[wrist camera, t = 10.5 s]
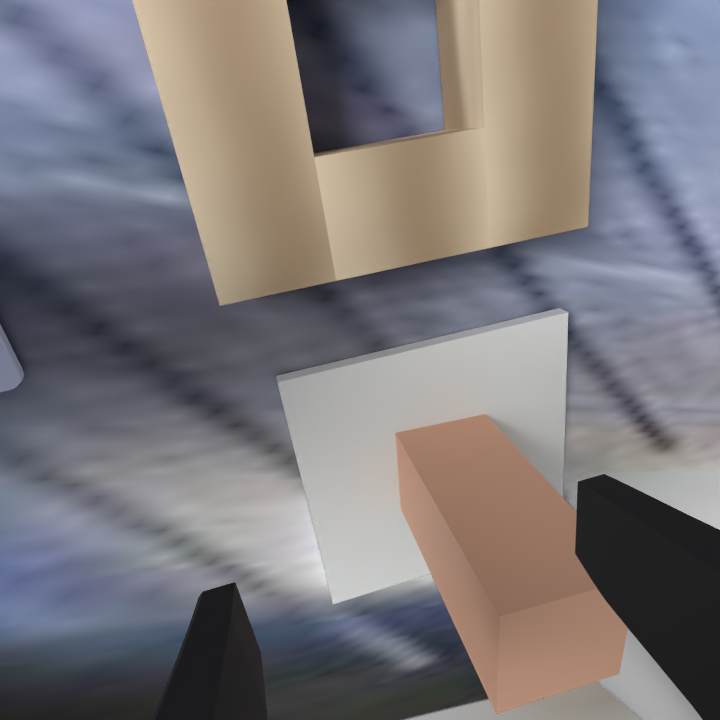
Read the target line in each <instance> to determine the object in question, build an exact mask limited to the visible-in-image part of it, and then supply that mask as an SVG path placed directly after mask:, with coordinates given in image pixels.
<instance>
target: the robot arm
mask: <svg viewBox="0 0 720 720" xmlns="http://www.w3.org/2000/svg"><path fill="white" fill-rule="evenodd" d="M23 377H24V372H23V369H22V367H21V365H20V363H19V361H18V359H17V357H16V355H15V353H14V351H13V349H12V347H11V345H10V343H9V341H8V339H7V337H6V334H5V332H4V330H3V328H2V326H1V324H0V392H4V391H9V390H12V389H14V388H16V387H17V386H18V385H19V384H20V383H21V381H22V380H23ZM575 554H576V556H577V558H578V559H579V561H580V562H581V564H582V566H583V567H584V569H585V570H586V572H587V573H588V575H589V577H590V578H591V580H592V581H593V583H594V584H595V586H596V587H597V589H598V590H599V592H600V593H601V595H602V596H603V598H604V599H605V600H606V602H607V603H608V604H609V605H610V607H611V608H612V609H613V610H614V612H615V613H616V614H617V615H618V617H619V618H620V619H621V620H622V621H623V623H624V624H625V625H626V626H627V628H628V629H629V630H630V631H631V633H632V634H633V635H634V636H635V637H636V639H637V640H638V641H639V642H640V643H641V645H642V646H643V647H644V648H645V650H646V651H647V652H648V653H649V654H650V656H651V657H652V658H653V659H654V660H655V662H656V663H657V664H658V665H659V666H660V668H661V669H662V670H663V671H664V672H665V674H666V675H667V676H668V677H669V679H670V680H671V681H672V682H673V683H674V685H675V686H676V687H677V688H678V689H679V691H680V692H681V693H682V694H683V695H684V697H685V698H686V699H687V700H688V702H689V703H690V704H691V705H692V706H693V708H694V709H695V710H696V712H697V713H698V714H699V716H700V717H701V718H702V719H703V720H720V530H719V529H716V528H714V527H712V526H710V525H708V524H706V523H704V522H702V521H700V520H698V519H696V518H693V517H691V516H689V515H687V514H685V513H683V512H681V511H679V510H677V509H675V508H673V507H671V506H669V505H667V504H665V503H663V502H661V501H659V500H657V499H655V498H653V497H651V496H649V495H647V494H645V493H643V492H641V491H639V490H637V489H634V488H632V487H630V486H628V485H626V484H624V483H622V482H620V481H618V480H616V479H614V478H611V477H609V476H607V475H605V474H603V475H599V476H596V477H593V478H589V479H586V480H582V481H579V482H578V493H577V517H576V541H575ZM152 720H267V710H266V699H265V689H264V679H263V669H262V660H261V652H260V649H259V646H258V644H257V641H256V638H255V635H254V633H253V630H252V627H251V624H250V622H249V619H248V616H247V613H246V610H245V608H244V605H243V602H242V599H241V597H240V594H239V591H238V588H237V586H236V583H235V582H234V583H231V584H227V585H224V586H220V587H217V588H214V589H210V590H207V591H203V592H202V594H201V595H200V597H199V598H198V601H197V604H196V607H195V610H194V613H193V616H192V619H191V622H190V625H189V628H188V630H187V633H186V636H185V639H184V641H183V644H182V647H181V649H180V652H179V655H178V657H177V660H176V662H175V665H174V668H173V670H172V673H171V675H170V677H169V680H168V682H167V685H166V687H165V690H164V692H163V694H162V697H161V699H160V702H159V704H158V706H157V709H156V711H155V714H154V716H153V718H152Z"/></svg>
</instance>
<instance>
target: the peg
mask: <svg viewBox="0 0 720 720" xmlns="http://www.w3.org/2000/svg"><path fill="white" fill-rule="evenodd" d="M395 435H396V449H397V463H398V477H399V491H400V505H401V510H402V512H403V514H404V517H405V519H406V521H407V523H408V525H409V527H410V530H411V532H412V534H413V536H414V538H415V540H416V542H417V545H418V547H419V549H420V551H421V553H422V555H423V558H424V560H425V562H426V564H427V566H428V568H429V570H430V573H431V575H432V577H433V579H434V581H435V583H436V586H437V588H438V590H439V592H440V594H441V596H442V598H443V601H444V603H445V605H446V607H447V609H448V611H449V614H450V616H451V618H452V620H453V622H454V624H455V626H456V629H457V631H458V633H459V635H460V637H461V639H462V642H463V644H464V646H465V648H466V650H467V652H468V655H469V657H470V659H471V661H472V663H473V665H474V667H475V670H476V672H477V674H478V676H479V678H480V680H481V683H482V685H483V687H484V689H485V691H486V693H487V695H488V698H489V700H490V702H491V704H492V706H493V708H494V710H495V712H496V714H497V713H500V712H503V711H506V710H509V709H513V708H516V707H519V706H522V705H525V704H528V703H531V702H534V701H537V700H540V699H544V698H547V697H550V696H553V695H556V694H559V693H562V692H565V691H568V690H572V689H575V688H578V687H581V686H584V685H587V684H590V683H593V682H596V681H599V680H602V679H606V678H609V677H612V676H615V675H618V674H619V673H620V668H621V662H622V657H623V652H624V647H625V642H626V637H627V631H628V628H627V626H626V625H625V624H624V623H623V621H622V620H621V619H620V618H619V617H618V615H617V614H616V613H615V612H614V610H613V609H612V608H611V607H610V605H609V604H608V603H607V602H606V600H605V599H604V598H603V596H602V595H601V593H600V592H599V590H598V589H597V587H596V586H595V584H594V583H593V581H592V580H591V578H590V577H589V575H588V573H587V572H586V570H585V569H584V567H583V566H582V564H581V562H580V561H579V559H578V558H577V556H576V554H575V541H576V517H577V512H576V510H575V509H574V508H573V507H572V506H571V505H570V504H569V503H568V502H567V501H566V500H565V499H564V498H563V497H562V496H561V495H560V493H559V492H558V491H557V490H556V489H555V488H554V487H553V486H552V485H551V484H550V483H549V482H548V481H547V480H546V479H545V477H544V476H543V475H542V474H541V473H540V472H539V471H538V470H537V469H536V468H535V467H534V466H533V465H532V464H531V463H530V461H529V460H528V459H527V458H526V457H525V456H524V455H523V454H522V453H521V452H520V451H519V450H518V449H517V448H516V447H515V446H514V444H513V443H512V442H511V441H510V440H509V439H508V438H507V437H506V436H505V435H504V434H503V433H502V432H501V431H500V430H499V428H498V427H497V426H496V425H495V424H494V423H493V422H492V421H491V420H490V419H489V418H488V417H487V416H486V415H485V414H483V415H478V416H473V417H469V418H464V419H459V420H454V421H449V422H445V423H440V424H435V425H430V426H426V427H421V428H416V429H411V430H406V431H402V432H397V433H395Z"/></svg>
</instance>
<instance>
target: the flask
mask: <svg viewBox="0 0 720 720" xmlns="http://www.w3.org/2000/svg"><path fill="white" fill-rule="evenodd" d="M596 682H597V683H598V684H599V685H600V686H602V687H603V688H604V689H605V690H606V691H607V692H609V693H610V694H611V695H612V696H613V697H615V698H616V699H617V700H618V701H619V702H621V703H622V704H623V705H624V706H625V707H626V708H628V709H629V710H630V711H631V712H632V713H634V714H635V715H636V716H637V717H638V718H639V719H641V720H703V719H702V718H701V717H700V716H699V714H698V713H697V712H696V710H695V709H694V708H693V706H692V705H691V704H690V703H689V702H688V700H687V699H686V698H685V697H684V695H683V694H682V693H681V692H680V691H679V689H678V688H677V687H676V686H675V685H674V683H673V682H672V681H671V680H670V679H669V677H668V676H667V675H666V674H665V672H664V671H663V670H662V669H661V668H660V666H659V665H658V664H657V663H656V662H655V660H654V659H653V658H652V657H651V656H650V654H649V653H648V652H647V651H646V650H645V648H644V647H643V646H642V645H641V643H640V642H639V641H638V640H637V639H636V637H635V636H634V635H633V634H632V633H631V631H630V630H629V629H628V631H627V637H626V642H625V647H624V652H623V657H622V662H621V668H620V673H619V674H618V675H615V676H612V677H609V678H606V679H602V680H599V681H596Z"/></svg>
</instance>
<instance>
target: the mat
mask: <svg viewBox="0 0 720 720" xmlns="http://www.w3.org/2000/svg"><path fill="white" fill-rule="evenodd" d="M567 340H568V312H567V311H565V310H563V309H561V308H558V309H553V310H549V311H545V312H541V313H537V314H533V315H528V316H524V317H520V318H516V319H512V320H508V321H503V322H499V323H495V324H491V325H487V326H482V327H478V328H474V329H470V330H466V331H462V332H457V333H453V334H449V335H445V336H441V337H436V338H432V339H428V340H424V341H420V342H416V343H411V344H407V345H403V346H399V347H395V348H390V349H386V350H382V351H378V352H374V353H370V354H365V355H361V356H357V357H353V358H349V359H344V360H340V361H336V362H332V363H328V364H324V365H319V366H315V367H311V368H307V369H303V370H298V371H294V372H290V373H286V374H282V375H278V376H276V379H277V384H278V388H279V392H280V396H281V400H282V404H283V408H284V411H285V415H286V419H287V423H288V427H289V431H290V435H291V439H292V443H293V447H294V451H295V455H296V459H297V463H298V467H299V471H300V475H301V479H302V483H303V487H304V491H305V495H306V499H307V503H308V507H309V511H310V515H311V519H312V523H313V527H314V531H315V535H316V538H317V542H318V546H319V550H320V554H321V558H322V562H323V566H324V570H325V574H326V578H327V582H328V586H329V590H330V594H331V598H332V602H333V604H336V603H339V602H342V601H345V600H349V599H352V598H355V597H358V596H361V595H365V594H368V593H371V592H374V591H377V590H381V589H384V588H387V587H390V586H393V585H397V584H400V583H403V582H406V581H409V580H413V579H416V578H419V577H422V576H425V575H429V574H431V573H430V570H429V568H428V566H427V564H426V562H425V560H424V558H423V555H422V553H421V551H420V549H419V547H418V545H417V542H416V540H415V538H414V536H413V534H412V532H411V530H410V527H409V525H408V523H407V521H406V519H405V517H404V514H403V512H402V510H401V505H400V491H399V477H398V463H397V449H396V435H395V433H397V432H402V431H406V430H411V429H416V428H421V427H426V426H430V425H435V424H440V423H445V422H449V421H454V420H459V419H464V418H469V417H473V416H478V415H483V414H485V415H486V416H487V417H488V418H489V419H490V420H491V421H492V422H493V423H494V424H495V425H496V426H497V427H498V428H499V430H500V431H501V432H502V433H503V434H504V435H505V436H506V437H507V438H508V439H509V440H510V441H511V442H512V443H513V444H514V446H515V447H516V448H517V449H518V450H519V451H520V452H521V453H522V454H523V455H524V456H525V457H526V458H527V459H528V460H529V461H530V463H531V464H532V465H533V466H534V467H535V468H536V469H537V470H538V471H539V472H540V473H541V474H542V475H543V476H544V477H545V479H546V480H547V481H548V482H549V483H550V484H551V485H552V486H553V487H554V488H555V489H556V490H557V491H558V492H559V493H560V495H561V496H562V497H563V481H564V445H565V410H566V375H567Z"/></svg>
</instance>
